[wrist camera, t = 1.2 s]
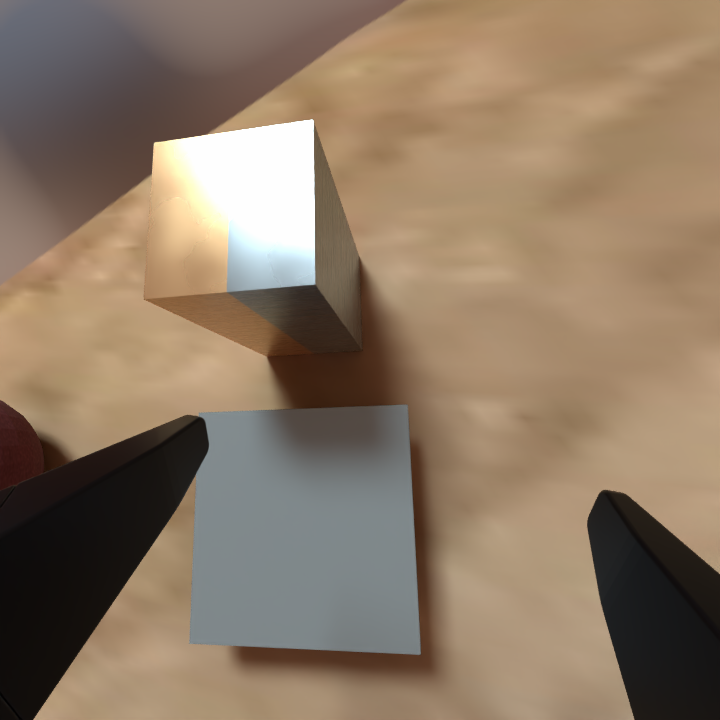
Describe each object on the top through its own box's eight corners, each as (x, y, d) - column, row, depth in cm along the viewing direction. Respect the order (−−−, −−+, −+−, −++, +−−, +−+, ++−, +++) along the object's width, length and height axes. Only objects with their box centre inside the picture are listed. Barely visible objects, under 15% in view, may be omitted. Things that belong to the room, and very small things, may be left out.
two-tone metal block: (362, 350, 23) (315, 284, 12) (266, 356, 24) (143, 299, 13) (359, 256, 24) (312, 119, 13) (267, 265, 25) (154, 142, 14)
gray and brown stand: (420, 619, 20) (420, 654, 17) (222, 612, 22) (189, 643, 18) (408, 407, 22) (407, 404, 19) (227, 414, 23) (198, 412, 20)
